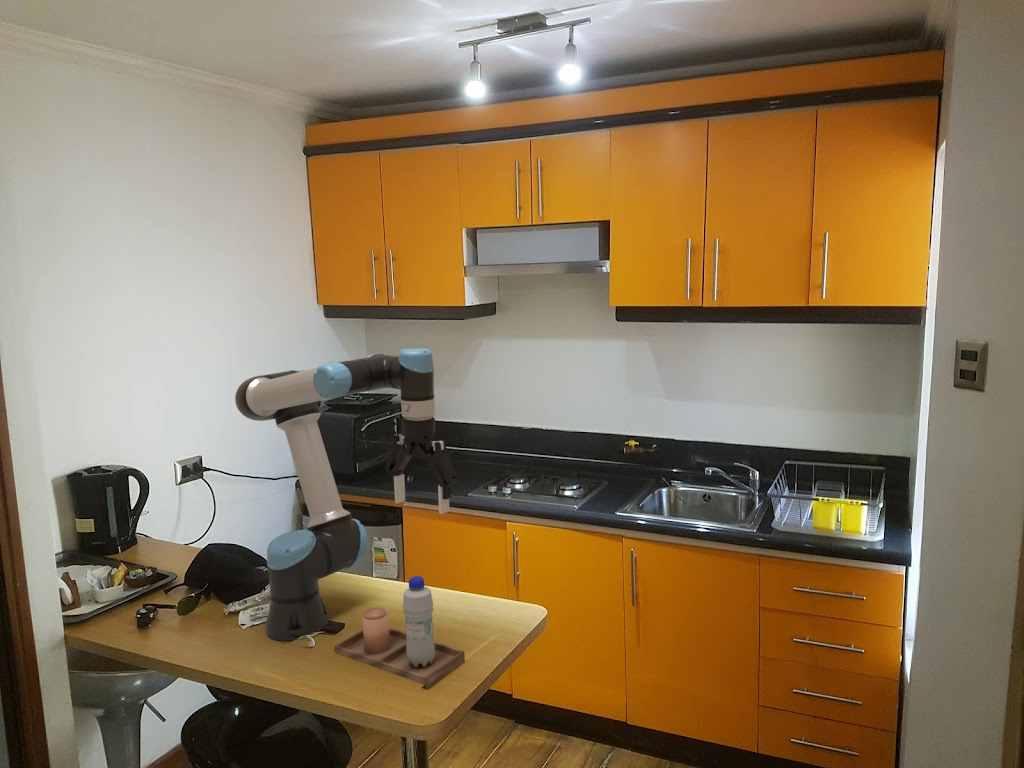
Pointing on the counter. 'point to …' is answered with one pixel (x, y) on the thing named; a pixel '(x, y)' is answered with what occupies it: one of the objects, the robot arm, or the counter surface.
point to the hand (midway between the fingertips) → (421, 507)
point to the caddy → (403, 658)
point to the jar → (376, 630)
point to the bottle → (418, 623)
